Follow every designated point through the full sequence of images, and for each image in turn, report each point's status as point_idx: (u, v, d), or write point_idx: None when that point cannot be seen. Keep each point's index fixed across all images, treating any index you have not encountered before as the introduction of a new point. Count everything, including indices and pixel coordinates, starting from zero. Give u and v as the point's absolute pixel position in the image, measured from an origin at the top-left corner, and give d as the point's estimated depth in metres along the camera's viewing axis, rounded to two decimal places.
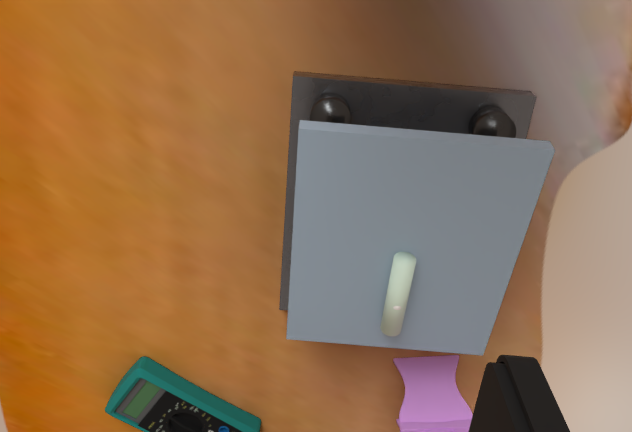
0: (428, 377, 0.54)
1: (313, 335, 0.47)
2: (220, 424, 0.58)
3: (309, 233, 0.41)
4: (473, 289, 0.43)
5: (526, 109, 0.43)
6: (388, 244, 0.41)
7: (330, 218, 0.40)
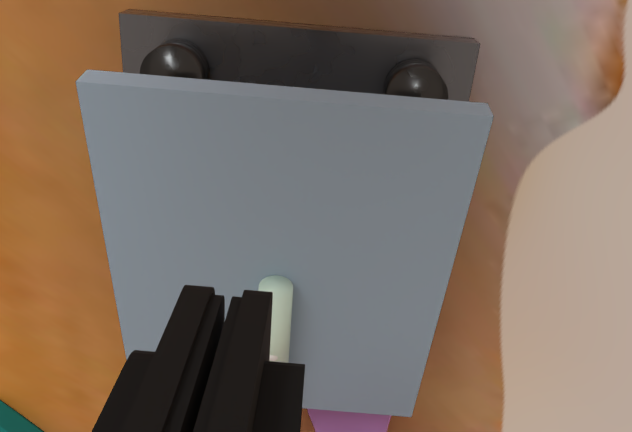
0: None
1: None
2: None
3: (131, 248, 0.27)
4: (387, 329, 0.29)
5: (466, 63, 0.29)
6: (253, 265, 0.27)
7: (157, 226, 0.26)
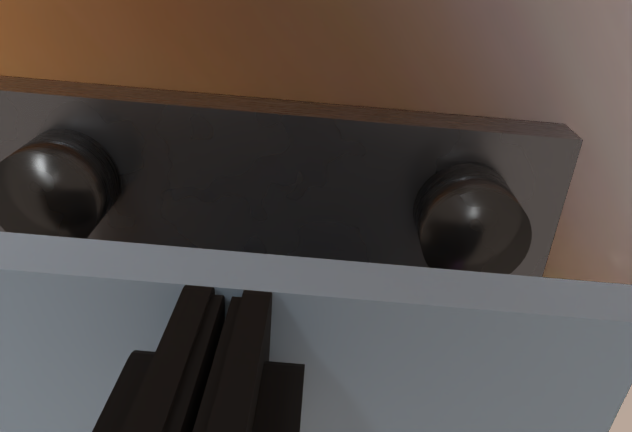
0: None
1: None
2: None
3: None
4: None
5: (556, 171, 0.17)
6: None
7: None
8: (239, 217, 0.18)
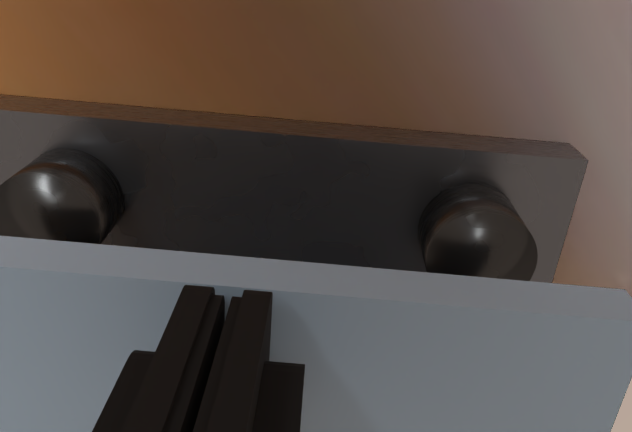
0: None
1: None
2: None
3: None
4: None
5: (561, 191, 0.17)
6: None
7: None
8: (242, 237, 0.18)
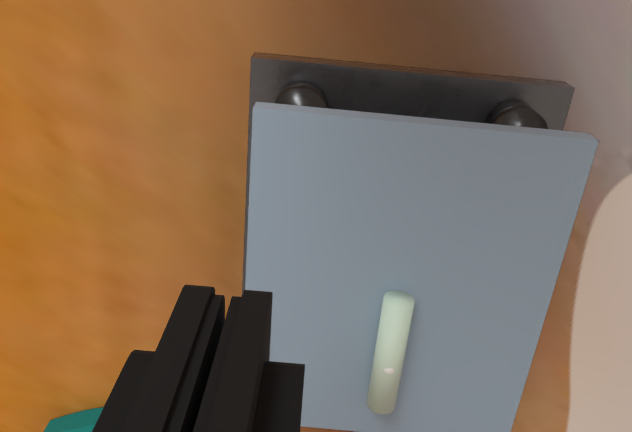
0: None
1: None
2: None
3: (269, 263, 0.30)
4: (492, 346, 0.32)
5: (560, 105, 0.33)
6: (376, 280, 0.30)
7: (297, 241, 0.30)
8: None
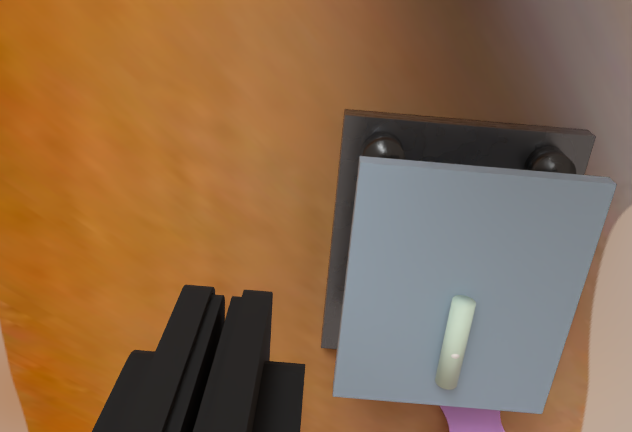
0: (472, 416, 0.53)
1: (362, 392, 0.44)
2: None
3: (364, 275, 0.40)
4: (532, 337, 0.41)
5: (584, 149, 0.42)
6: (446, 287, 0.40)
7: (387, 258, 0.39)
8: None
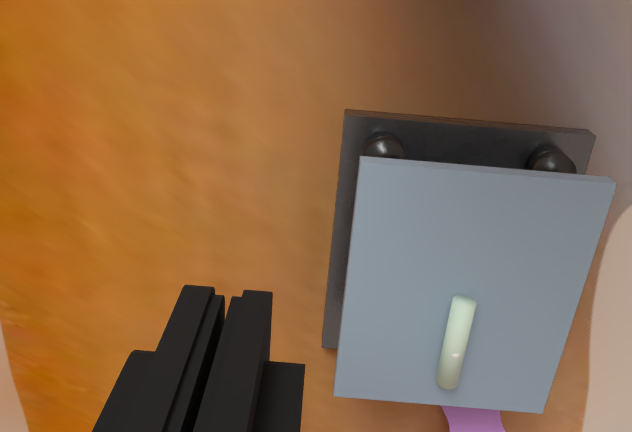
0: (473, 416, 0.53)
1: (362, 391, 0.44)
2: None
3: (365, 275, 0.40)
4: (533, 337, 0.41)
5: (585, 149, 0.42)
6: (446, 287, 0.40)
7: (387, 258, 0.39)
8: None
